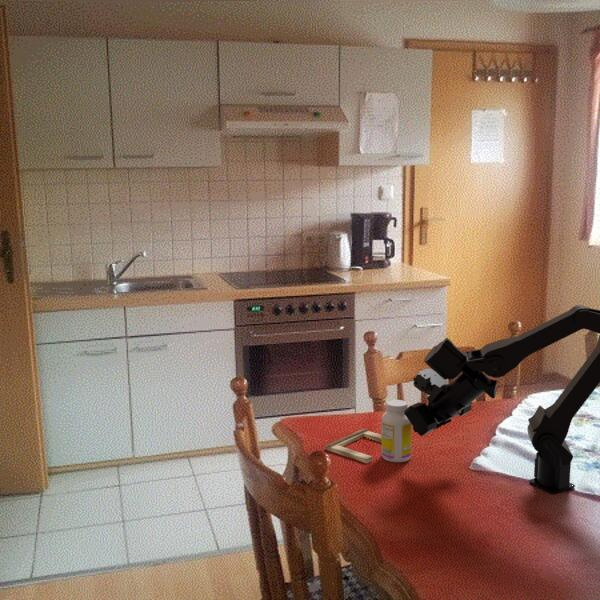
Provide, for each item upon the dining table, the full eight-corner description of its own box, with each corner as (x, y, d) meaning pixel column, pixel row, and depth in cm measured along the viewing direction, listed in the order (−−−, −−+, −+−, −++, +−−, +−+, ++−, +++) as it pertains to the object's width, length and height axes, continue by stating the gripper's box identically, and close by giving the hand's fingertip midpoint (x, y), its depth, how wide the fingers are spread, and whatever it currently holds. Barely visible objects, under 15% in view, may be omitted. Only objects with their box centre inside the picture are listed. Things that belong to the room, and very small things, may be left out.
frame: (403, 445, 168) (403, 440, 168) (366, 463, 158) (366, 457, 157) (362, 433, 176) (362, 428, 176) (325, 449, 166) (325, 444, 165)
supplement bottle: (410, 452, 164) (411, 398, 161) (412, 464, 157) (413, 408, 155) (381, 451, 164) (381, 397, 162) (381, 463, 158) (382, 407, 156)
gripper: (461, 351, 156) (416, 389, 166) (413, 369, 143) (368, 409, 152) (492, 393, 152) (445, 430, 162) (446, 415, 139) (398, 454, 148)
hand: (414, 430), depth 156 cm, fingers closed
